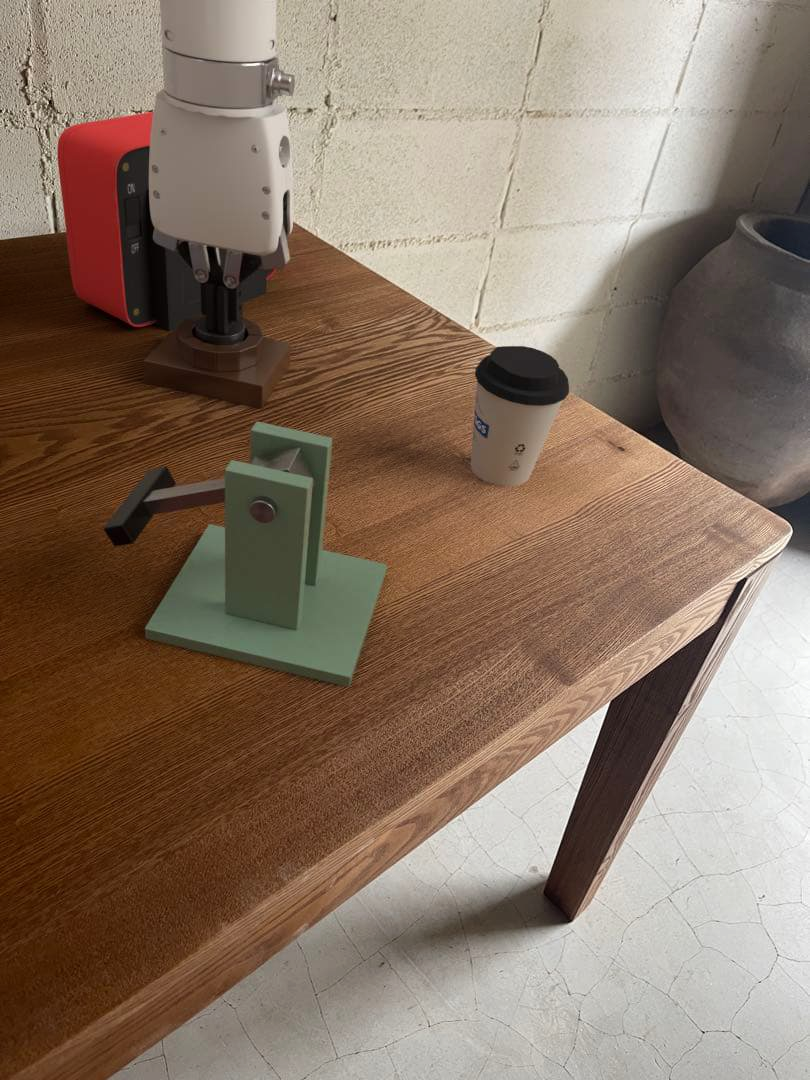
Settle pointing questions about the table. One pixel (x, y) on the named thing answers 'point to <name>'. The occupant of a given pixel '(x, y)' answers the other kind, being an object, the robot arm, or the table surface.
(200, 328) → the button
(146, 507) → the lever
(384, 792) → the table surface
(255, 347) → the button box
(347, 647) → the bracket
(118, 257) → the alarm clock
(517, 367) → the coffee cup
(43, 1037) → the table surface
